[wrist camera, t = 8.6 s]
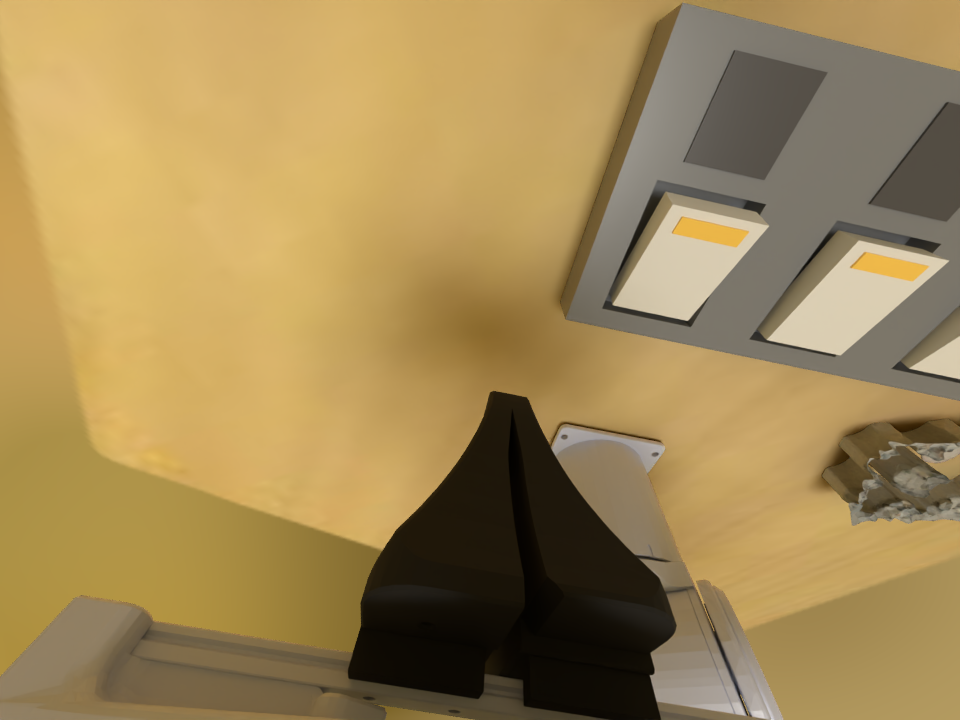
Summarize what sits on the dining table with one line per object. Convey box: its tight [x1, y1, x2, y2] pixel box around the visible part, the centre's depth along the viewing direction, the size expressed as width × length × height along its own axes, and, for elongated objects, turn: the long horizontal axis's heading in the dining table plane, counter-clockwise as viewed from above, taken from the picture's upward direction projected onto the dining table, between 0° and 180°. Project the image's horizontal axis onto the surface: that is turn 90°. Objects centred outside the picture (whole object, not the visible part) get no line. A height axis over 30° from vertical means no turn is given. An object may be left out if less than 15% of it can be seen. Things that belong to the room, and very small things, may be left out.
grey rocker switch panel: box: [560, 3, 960, 401], centre depth 16 cm, size 12×24×2 cm, turn 79°
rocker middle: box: [757, 230, 949, 355], centre depth 16 cm, size 5×4×1 cm
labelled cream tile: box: [610, 192, 769, 321], centre depth 16 cm, size 5×4×1 cm
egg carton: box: [822, 419, 960, 526], centre depth 23 cm, size 11×8×4 cm
